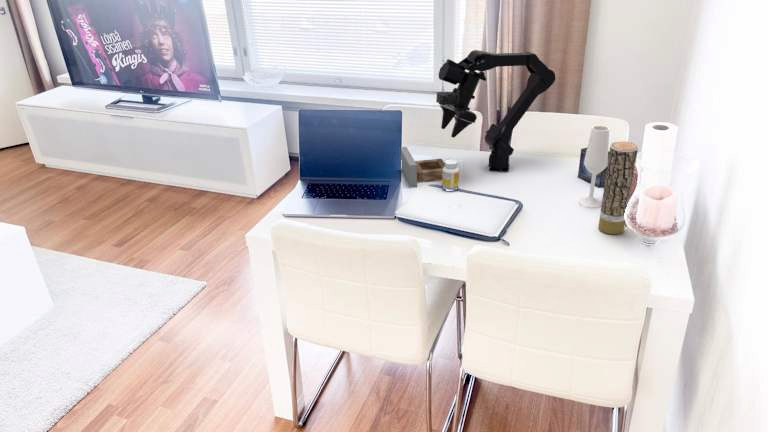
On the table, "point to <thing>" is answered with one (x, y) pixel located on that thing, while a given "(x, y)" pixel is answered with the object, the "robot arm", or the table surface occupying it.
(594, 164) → the champagne flute
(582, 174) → the small box
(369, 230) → the table surface
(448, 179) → the supplement bottle
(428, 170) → the walnut socket block
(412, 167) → the grey backstop board
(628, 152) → the bark print cylinder
